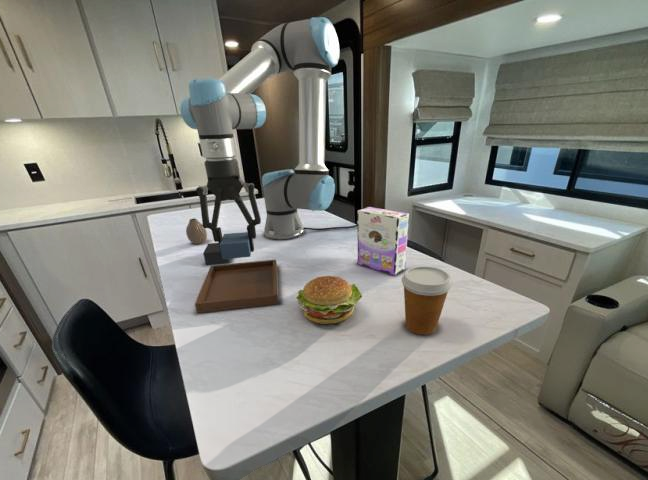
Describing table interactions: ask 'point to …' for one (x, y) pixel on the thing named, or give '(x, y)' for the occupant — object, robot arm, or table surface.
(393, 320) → the table surface
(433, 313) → the disposable coffee cup
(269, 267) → the brown wooden tray
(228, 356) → the table surface
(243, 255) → the pad
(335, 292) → the food
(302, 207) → the robot arm
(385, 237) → the candy box
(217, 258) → the pad
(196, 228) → the vase
